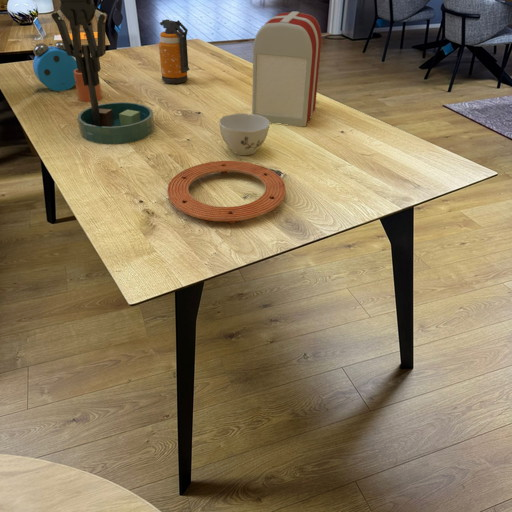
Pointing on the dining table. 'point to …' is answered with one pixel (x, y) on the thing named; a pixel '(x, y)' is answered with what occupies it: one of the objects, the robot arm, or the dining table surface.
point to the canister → (173, 52)
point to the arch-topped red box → (286, 68)
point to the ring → (192, 207)
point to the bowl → (117, 124)
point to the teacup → (244, 132)
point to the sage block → (129, 117)
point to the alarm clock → (54, 66)
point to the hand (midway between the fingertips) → (92, 84)
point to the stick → (91, 85)
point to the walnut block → (105, 117)
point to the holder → (85, 88)
